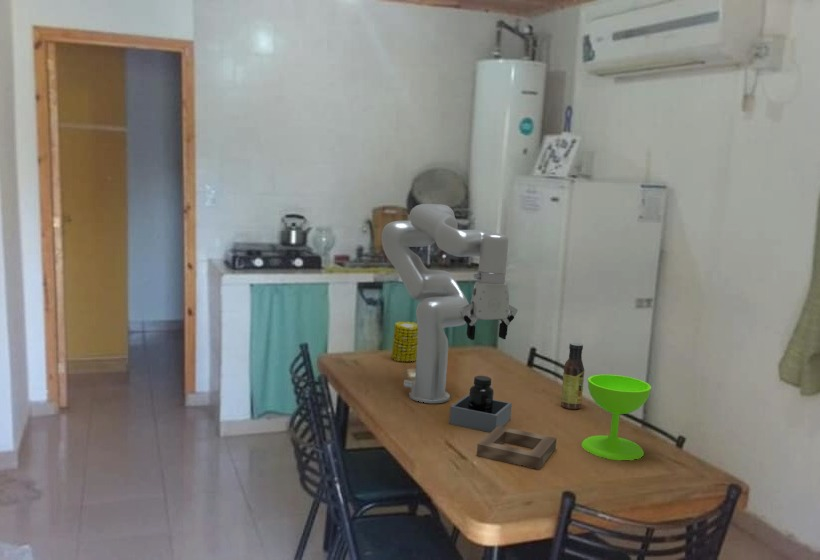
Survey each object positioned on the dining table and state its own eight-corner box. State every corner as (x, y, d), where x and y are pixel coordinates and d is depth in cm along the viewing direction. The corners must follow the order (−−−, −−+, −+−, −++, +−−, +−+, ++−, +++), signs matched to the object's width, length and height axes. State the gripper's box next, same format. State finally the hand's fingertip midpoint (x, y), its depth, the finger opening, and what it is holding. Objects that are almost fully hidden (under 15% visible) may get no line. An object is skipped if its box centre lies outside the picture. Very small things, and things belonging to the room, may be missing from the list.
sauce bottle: (581, 411, 229) (587, 347, 226) (560, 408, 230) (566, 345, 227) (580, 404, 235) (586, 343, 233) (560, 402, 237) (566, 341, 234)
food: (410, 360, 283) (418, 368, 274) (381, 353, 280) (388, 362, 270) (422, 322, 282) (430, 329, 272) (393, 315, 278) (400, 322, 268)
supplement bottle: (462, 418, 213) (465, 377, 211) (476, 412, 218) (479, 372, 217) (483, 424, 209) (486, 382, 207) (496, 418, 214) (499, 378, 212)
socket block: (476, 455, 188) (477, 444, 187) (496, 436, 202) (497, 426, 202) (539, 469, 181) (540, 457, 181) (555, 449, 196) (556, 438, 195)
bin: (449, 423, 210) (450, 406, 210) (466, 410, 223) (467, 394, 222) (495, 433, 205) (496, 415, 204) (510, 419, 217) (511, 403, 216)
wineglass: (647, 445, 203) (654, 381, 200) (639, 465, 188) (647, 396, 185) (587, 434, 209) (594, 371, 206) (575, 452, 194) (582, 385, 192)
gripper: (468, 280, 201) (463, 342, 204) (525, 280, 207) (520, 341, 210) (457, 275, 208) (452, 336, 211) (513, 276, 214) (508, 334, 217)
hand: (486, 338), depth 210 cm, fingers open, 9 cm apart
